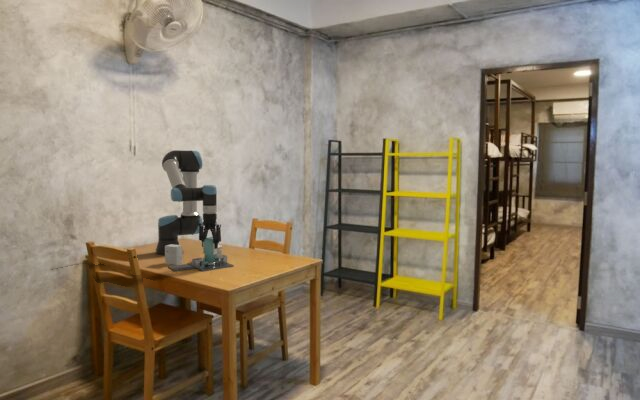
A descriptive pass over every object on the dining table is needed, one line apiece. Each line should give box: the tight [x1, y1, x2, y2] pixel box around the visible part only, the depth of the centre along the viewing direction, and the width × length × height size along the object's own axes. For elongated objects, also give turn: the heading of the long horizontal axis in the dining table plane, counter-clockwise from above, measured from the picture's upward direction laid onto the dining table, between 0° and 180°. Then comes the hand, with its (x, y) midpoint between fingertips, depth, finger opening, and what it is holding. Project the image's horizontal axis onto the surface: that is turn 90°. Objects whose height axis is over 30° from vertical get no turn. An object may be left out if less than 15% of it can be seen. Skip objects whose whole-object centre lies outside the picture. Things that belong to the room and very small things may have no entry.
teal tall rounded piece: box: [201, 236, 218, 265], centre depth 256 cm, size 6×12×14 cm, turn 156°
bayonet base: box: [186, 253, 234, 272], centre depth 256 cm, size 19×19×5 cm
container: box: [211, 236, 223, 260], centre depth 274 cm, size 8×8×13 cm
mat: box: [167, 263, 197, 273], centre depth 250 cm, size 11×11×1 cm
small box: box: [164, 244, 184, 266], centre depth 260 cm, size 8×6×10 cm
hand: (210, 253), depth 256 cm, fingers closed on teal tall rounded piece, 6 cm apart
